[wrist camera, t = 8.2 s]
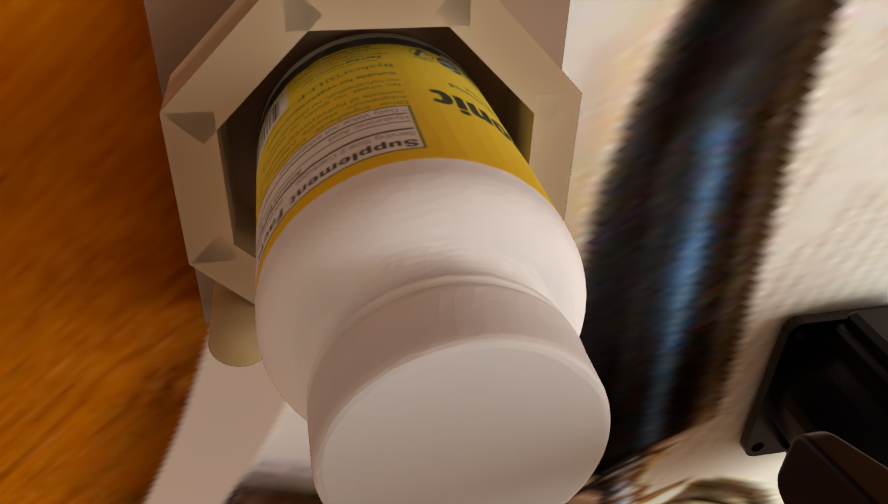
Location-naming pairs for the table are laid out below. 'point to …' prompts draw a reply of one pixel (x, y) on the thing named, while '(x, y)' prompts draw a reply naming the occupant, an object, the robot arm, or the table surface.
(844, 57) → the table surface
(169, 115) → the beige octagonal holder
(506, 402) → the supplement bottle
